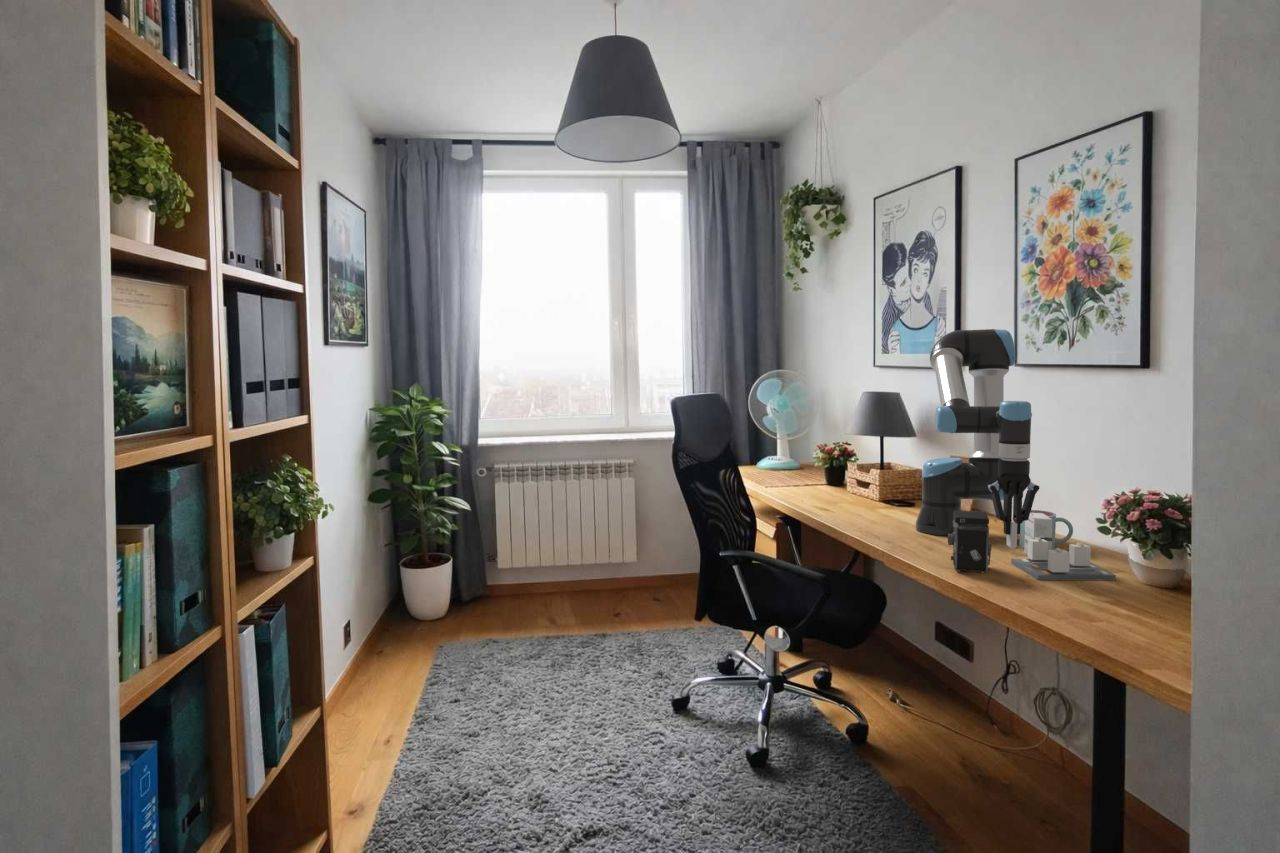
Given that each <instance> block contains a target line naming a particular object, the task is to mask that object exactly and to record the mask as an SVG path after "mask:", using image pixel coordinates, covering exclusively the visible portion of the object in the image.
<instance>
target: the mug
mask: <svg viewBox="0 0 1280 853" xmlns="http://www.w3.org/2000/svg"><path fill="white" fill-rule="evenodd" d="M1030 513H1043V514H1045V515H1046V516H1048V517H1049V518H1051V519H1052V550H1055V549H1056V543H1059V544H1061V543H1062V544H1063V543H1066V542H1067V541H1069V540H1070V539H1071V538H1072V536H1073V534H1074V526H1073V525H1072V523H1071V521H1069V520H1068V519H1066V518H1064V517H1057V514H1056V513H1054V512H1051V511H1047V510H1046V511H1045V510H1038V509H1031V512H1030ZM1058 522H1060V523H1063V524H1065V525H1066V527H1067V528H1068V533H1067V535H1066V536H1064V537H1062V538H1058V537H1056V526H1057V525H1056V524H1057V523H1058ZM1019 545H1020V546H1019V547H1020V548H1023V549H1024V548H1025V521H1023V523H1021V527H1020V534H1019Z"/></svg>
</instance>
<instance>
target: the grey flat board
mask: <svg viewBox="0 0 1280 853" xmlns="http://www.w3.org/2000/svg"><path fill="white" fill-rule="evenodd" d="M1010 563H1011V564H1012V565H1014V566H1015V567H1016V568H1018V569H1020V570H1021V571H1023V572H1025V573H1026V574H1027V575H1029V576H1031V577H1033V579H1035V580H1036V581H1116V580H1117V577H1116V576H1117V575H1116V574H1114V573H1113V572H1111V571H1108V570H1107V569H1104V568H1102V567H1101V566H1099V565H1097V564H1094V563H1093V562H1091V561H1090V566H1073V565H1071V564H1070V563H1069V572H1052V571H1050V570H1048V560H1031V559H1030V558H1011V559H1010Z"/></svg>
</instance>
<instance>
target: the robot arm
mask: <svg viewBox="0 0 1280 853" xmlns="http://www.w3.org/2000/svg"><path fill="white" fill-rule="evenodd" d="M1014 342H1015V341H1014V339H1013V336H1012V334H1011V333H1010V332H1009V330H1007V329H996V328H992V329H991V328H990V329H988V328H987V329H964V330H963V329H960V330H953V331H950V332H948V333H947V334H945V335H942V336H941V337H940V339H938V340H937V341H936V342H935V344H934V345H933V347H932V348H931V351H930V353H929V363H930V367H931V368H932V370H933V371H934V372H935V378H936V382H937V383H936V384H937V389H938V395H939V401H940V406H938V407H937V408H936V409H935V429H936V431H938V432H939V433H949V434H973V452H972V453H971V454H970V455H969V456H968V462H963V459H962V458H961V457H941V458H940V457H939V458H934V459H933V458H932V459H929V460H927V461H925V462H924V463H923V466H922V475H921V477H922V491H921V492H922V493H921V495H922V496H921V507H920V509H919V513H918V516H917V518H916V520H915V530H917V531H918V532H920V533H924V534H929V535H934V536H935V535H936V536H948V534H952V533H953V532H954V527H953V520H954V516H953V512H954V511H963V510H962V500H975V501H976V500H977V501H978V500H980V501H981V500H982V501H992V504H993V507H994V508H993V509H994V513H995V517H996V519H998V520H999V521H1002V522H1003V534H1005V535H1006V545H1005V546H1008V547H1009V548H1017V546H1018V545H1017V543H1018V541H1017V540H1018V535H1020V527H1021V523H1023V521H1027V520H1028V519H1029V515H1030V512H1031V510H1032V509H1033V508H1032V507H1033V504H1034V501H1035V497H1036V495H1037V492H1039V490H1040V488H1041V487H1040V486H1039V485H1037V484H1035V483H1033V482H1032V479H1031V477H1030V470H1031V469H1030V468H1031V467H1030V466H1031V463H1030V460H1029V459H1030V458H1031V435H1032V434H1031V431H1032V429H1031V428H1032V417H1033V416H1032V415H1033V413H1032V404H1031V403H1030V402H1029V401H1026V400H1025V401H1024V400H1004V398H1005V397H1004V396H1005V395H1004V392H1005V391H1004V390H1005V389H1004V387H1005V386H1004V385H1005V384H1004V381H1005V380H1004V377H1005V375H1007V374H1008V373H1009V371H1010V367H1012V366H1014V364H1015V361H1016V347H1015V343H1014ZM962 367H968V374H970V375H971V376H972V377H973V406H971V405H970V401H969V396H968V390H967V386H966V383H965V377H964V374H963V368H962ZM1024 491H1026V493H1025V496H1024ZM1023 497H1024V500H1023ZM1002 501H1003V504H1002Z"/></svg>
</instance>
